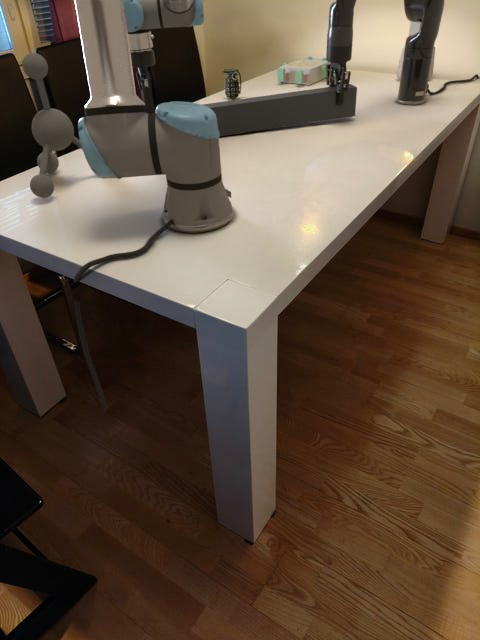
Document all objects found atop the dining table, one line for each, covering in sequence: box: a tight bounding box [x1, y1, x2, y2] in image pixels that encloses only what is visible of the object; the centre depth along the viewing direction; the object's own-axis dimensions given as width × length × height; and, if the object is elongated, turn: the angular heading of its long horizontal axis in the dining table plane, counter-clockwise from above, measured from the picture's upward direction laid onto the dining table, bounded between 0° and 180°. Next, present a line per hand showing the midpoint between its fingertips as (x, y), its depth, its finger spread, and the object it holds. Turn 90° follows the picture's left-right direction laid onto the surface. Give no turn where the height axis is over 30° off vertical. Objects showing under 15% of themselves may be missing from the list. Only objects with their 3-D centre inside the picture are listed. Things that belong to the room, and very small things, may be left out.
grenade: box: [221, 68, 242, 101], centre depth 184 cm, size 7×6×10 cm
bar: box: [155, 83, 358, 137], centre depth 151 cm, size 70×5×9 cm, turn 104°
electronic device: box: [396, 21, 436, 81], centre depth 188 cm, size 12×8×30 cm, turn 105°
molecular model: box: [21, 52, 83, 199], centre depth 119 cm, size 24×22×30 cm
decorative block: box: [276, 56, 331, 86], centre depth 205 cm, size 26×6×20 cm
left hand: (153, 135), depth 148 cm, fingers open, 6 cm apart
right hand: (336, 102), depth 156 cm, fingers closed on bar, 5 cm apart
